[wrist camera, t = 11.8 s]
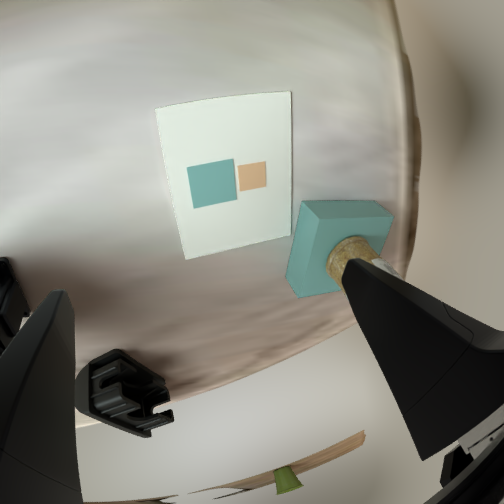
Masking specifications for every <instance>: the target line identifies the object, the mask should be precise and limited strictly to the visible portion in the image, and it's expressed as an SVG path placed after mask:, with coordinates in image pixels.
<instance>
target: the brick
mask: <svg viewBox="0 0 504 504" xmlns="http://www.w3.org/2000/svg"><path fill="white" fill-rule="evenodd" d="M393 218H394V216H393V215H392V214H391V213H389V212H388V211H387V210H386V209H384V208H383V207H382V206H381V205H379V204H378V203H377V202H376V201H302V204H301V208H300V213H299V218H298V222H297V227H296V232H295V236H294V241H293V245H292V250H291V254H290V259H289V263H288V268H287V272H286V276H285V277H286V279H287V280H288V282H289V284H290V285H291V287H292V289H293V290H294V292H295V294H296V295H297V297H298V298H302V297H308V296H313V295H319V294H324V293H330V292H335V291H340V290H341V289H340V287H339V286H338V284H337V283H336V282H335V281H334V279H332V278H331V277H330V276H329V275H328V273H327V272H326V262H327V258H328V256H329V254H330V253H331V251H332V250H333V249H334V247H335V246H337V244H338V243H340V242H342V241H343V240H344V239H346V238H349V237H353V236H359V237H362V238H364V239H366V240H367V241H368V243H369V245H370V247H371V248H373V250H374V251H375V252H376V253H377V254H378V255H380V253H381V250H382V248H383V245H384V243H385V240H386V237H387V235H388V232H389V229H390V227H391V224H392V221H393Z"/></svg>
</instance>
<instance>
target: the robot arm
mask: <svg viewBox="0 0 504 504" xmlns="http://www.w3.org/2000/svg"><path fill="white" fill-rule="evenodd" d="M3 263H4V264H5V265H4V264H3ZM341 282H342V286H343V288H344V290H345V293H346V295H347V298H348V300H349V303H350V305H351V308H352V310H353V313H354V315H355V317H356V320H357V322H358V324H359V326H360V328H361V330H362V332H363V334H364V336H365V338H366V340H367V342H368V344H369V345H370V348H371V350H372V351H373V354H374V355H375V358H376V360H377V362H378V364H379V366H380V368H381V370H382V372H383V374H384V376H385V378H386V381H387V383H388V385H389V387H390V389H391V391H392V393H393V396H394V398H395V400H396V402H397V404H398V407H399V409H400V411H401V413H402V415H403V418H404V420H405V423H406V425H407V427H408V429H409V432H410V434H411V437H412V439H413V441H414V444H415V446H416V449H417V451H418V454H419V456H420V458H421V460H422V461H424V460H426V459H428V458H429V457H431V456H433V455H434V454H436V453H437V452H439V451H441V450H442V449H444V448H446V447H447V446H449V445H450V444H452V443H453V442H455V441H456V440H458V442H459V444H458V445H457V446H456V447H455V448H454V449H452V450H451V451H450V452H449V453H448V454H446V455H445V457H444V463H443V469H442V474H441V479H440V483H441V485H442V487H443V489H442V490H440V491H439V492H438V493H437V494H435V495H434V496H433V497H432V498H430V499H429V500H428V501H426V502H425V503H424V504H504V331H499V330H496V329H494V328H492V327H490V326H488V325H486V324H484V323H482V322H480V321H478V320H476V319H474V318H472V317H470V316H468V315H466V314H464V313H462V312H460V311H458V310H456V309H455V308H453V307H451V306H449V305H447V304H445V303H444V302H441V301H440V300H438V299H436V298H435V297H433V296H431V295H429V294H427V293H426V292H424V291H422V290H420V289H418V288H416V287H414V286H413V285H411V284H409V283H407V282H405V281H403V280H401V279H399V278H398V277H396V276H394V275H392V274H390V273H388V272H386V271H384V270H382V269H380V268H379V267H377V266H375V265H373V264H371V263H369V262H367V261H365V260H363V259H361V258H352V259H349V260H348V261H347V263H346V266H345V269H344V271H343V274H342V277H341ZM30 312H31V311H30V309H29V306H28V304H27V301H26V299H25V297H24V295H23V293H22V290H21V288H20V286H19V283H18V282H17V280H16V278H15V275H14V273H13V270H12V268H11V265H10V263H9V261H8V260H7V259H6V258H0V504H83V499H82V493H81V486H80V479H79V471H78V460H77V450H76V433H75V365H76V361H75V330H74V311H73V308H72V305H71V302H70V300H69V297H68V294H67V292H66V291H65V290H64V289H58V290H52V291H51V292H50V293H49V294H48V296H47V297H46V298H45V299H44V300H43V302H42V303H41V304H40V305H39V306H38V308H37V309H36V310H35V311H34V313H33V314H32V315H31V316H30ZM29 316H30V318H29V319H28V320H27V321H26V323H25V324H24V325H23V327H22V328H21V329H20V325H21V322H22V318H23V317H29ZM19 329H20V330H19Z"/></svg>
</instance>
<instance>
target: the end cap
mask: <svg viewBox="0 0 504 504" xmlns="http://www.w3.org/2000/svg"><path fill="white" fill-rule="evenodd" d="M165 384H166V383H165V379H164V378H162V377H160V376H159V375H157V374H156V373H154V372H153V371H151V370H149V369H148V368H146V367H145V366H143V365H142V364H140V363H139V362H137V361H136V360H134V359H133V358H131V357H130V356H128V355H127V354H126V353H124V352H123V351H121V350H119V349H113V350H111V351H109V352H107V353H105V354H103V355H101V356H99V357H97V358H95V359H93V360H92V361H91V362H89V363H88V365H86V366H85V367H84V368H83V369H82V370H81V371H80V372H79V374H78V375H77V377H76V379H75V407H76V409H77V410H78V411H79V412H81V413H83V414H85V415H87V416H89V417H91V418H94V419H96V420H98V421H101V422H103V423H105V424H108V425H110V426H113V427H115V428H118V429H120V430H123V431H126V432H128V433H131V434H134V435H137V436H140V437H143V438H148V437H151V429H153V428H156V427H160V426H163V425H166V424H168V423H171V422H174V416H173V411H172V410H171V409H169V410H167V411H164V412H161V413H156V414H153V409H154V407H156V406H158V405H161V404H163V403H166V402H169V401H170V395H169V391H168V389H167V388H166V387H165V386H164V385H165Z"/></svg>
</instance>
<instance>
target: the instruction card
mask: <svg viewBox="0 0 504 504" xmlns="http://www.w3.org/2000/svg"><path fill="white" fill-rule="evenodd" d="M155 111H156V117H157V124H158V130H159V135H160V141H161V147H162V152H163V158H164V163H165V168H166V173H167V178H168V183H169V188H170V193H171V198H172V203H173V207H174V212H175V216H176V221H177V225H178V230H179V234H180V238H181V242H182V247H183V251H184V255H185V259H186V260H188V259H192V258H196V257H200V256H204V255H209V254H213V253H217V252H221V251H225V250H230V249H234V248H238V247H242V246H246V245H251V244H255V243H259V242H263V241H268V240H272V239H276V238H281V237H285V236H289V235H291V92H290V91H284V92H268V93H255V94H244V95H235V96H227V97H219V98H212V99H205V100H198V101H192V102H186V103H181V104H175V105H170V106H165V107H160V108H156V109H155Z"/></svg>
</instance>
